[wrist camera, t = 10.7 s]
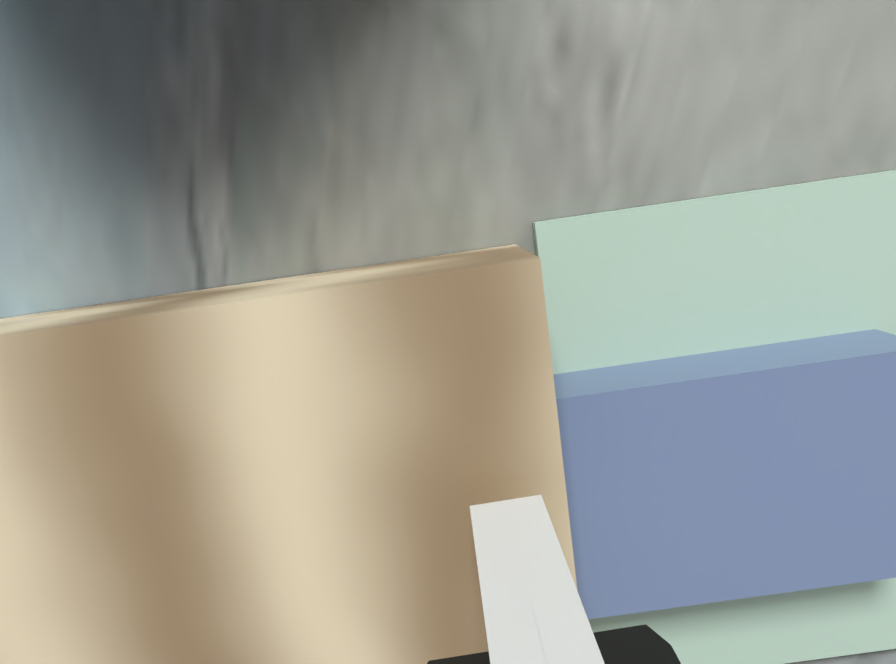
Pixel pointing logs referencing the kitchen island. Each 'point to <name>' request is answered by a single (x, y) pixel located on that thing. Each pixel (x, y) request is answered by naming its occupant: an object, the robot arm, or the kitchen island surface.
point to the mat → (730, 327)
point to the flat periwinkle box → (731, 472)
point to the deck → (273, 465)
